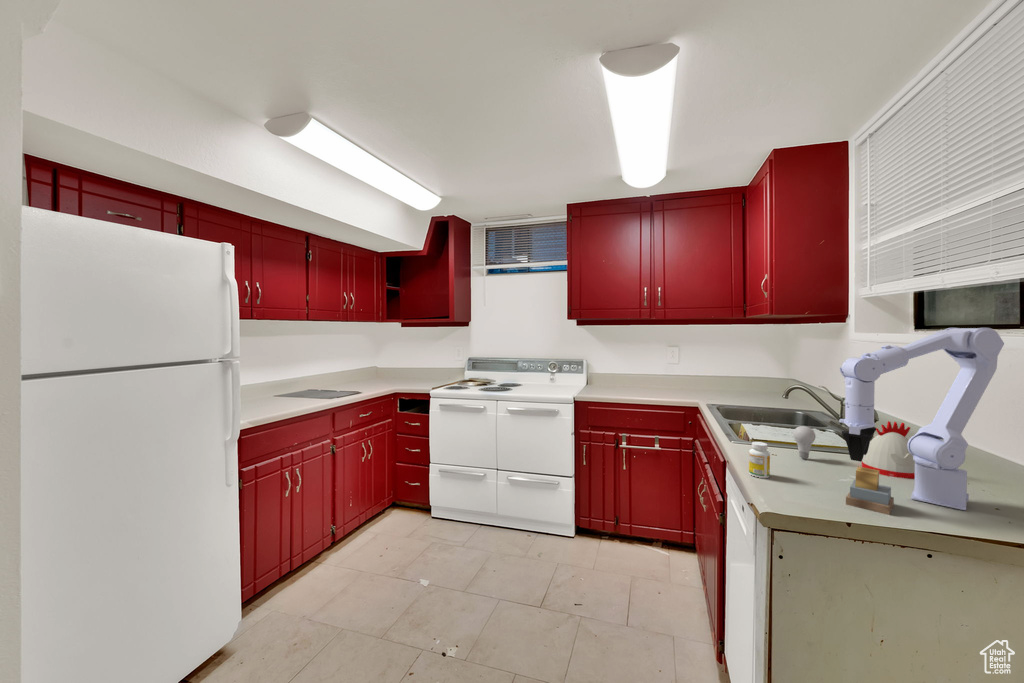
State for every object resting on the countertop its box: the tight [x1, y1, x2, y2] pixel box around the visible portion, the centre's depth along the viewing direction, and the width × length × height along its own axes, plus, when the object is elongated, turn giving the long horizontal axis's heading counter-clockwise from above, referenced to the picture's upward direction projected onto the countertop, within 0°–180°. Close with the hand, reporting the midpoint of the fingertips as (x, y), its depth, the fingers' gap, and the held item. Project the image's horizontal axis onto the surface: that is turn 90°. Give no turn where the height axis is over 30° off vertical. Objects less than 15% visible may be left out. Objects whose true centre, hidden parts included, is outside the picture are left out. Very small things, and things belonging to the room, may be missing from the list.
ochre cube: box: [855, 466, 880, 491], centre depth 103 cm, size 4×4×4 cm
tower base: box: [845, 491, 895, 516], centre depth 103 cm, size 8×8×2 cm
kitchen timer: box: [861, 420, 915, 480], centre depth 126 cm, size 14×14×15 cm
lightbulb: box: [792, 425, 816, 460], centre depth 138 cm, size 6×6×11 cm
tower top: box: [849, 479, 892, 505], centre depth 103 cm, size 7×7×2 cm
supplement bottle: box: [748, 441, 771, 479], centre depth 124 cm, size 5×5×10 cm
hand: (858, 457), depth 107 cm, fingers open, 7 cm apart
